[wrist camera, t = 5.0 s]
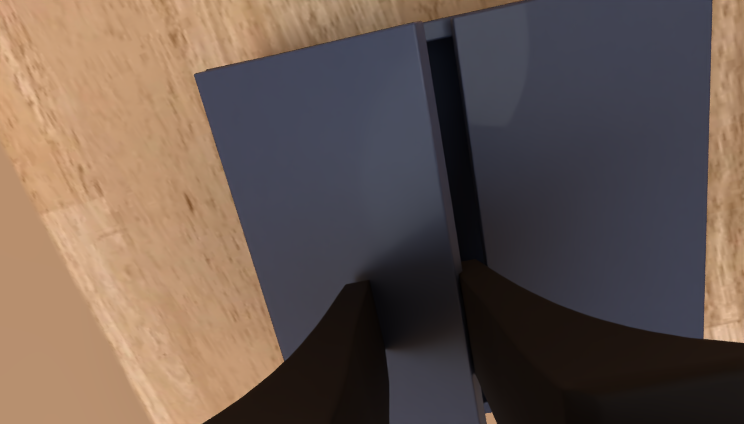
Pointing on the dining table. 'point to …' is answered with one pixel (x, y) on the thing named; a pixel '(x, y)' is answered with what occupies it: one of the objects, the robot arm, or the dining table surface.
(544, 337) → the robot arm
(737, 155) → the dining table surface
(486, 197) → the carton
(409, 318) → the flap
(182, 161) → the dining table surface
